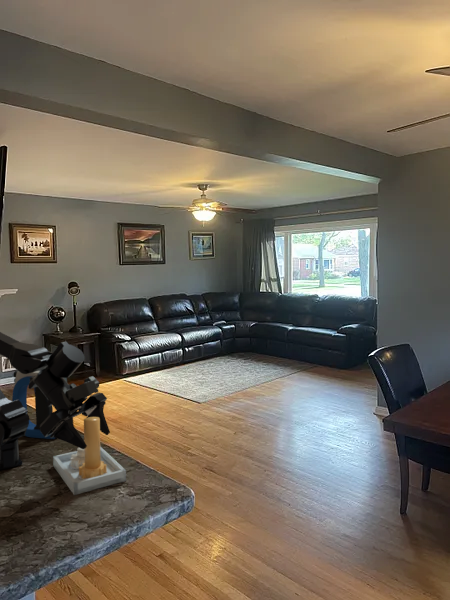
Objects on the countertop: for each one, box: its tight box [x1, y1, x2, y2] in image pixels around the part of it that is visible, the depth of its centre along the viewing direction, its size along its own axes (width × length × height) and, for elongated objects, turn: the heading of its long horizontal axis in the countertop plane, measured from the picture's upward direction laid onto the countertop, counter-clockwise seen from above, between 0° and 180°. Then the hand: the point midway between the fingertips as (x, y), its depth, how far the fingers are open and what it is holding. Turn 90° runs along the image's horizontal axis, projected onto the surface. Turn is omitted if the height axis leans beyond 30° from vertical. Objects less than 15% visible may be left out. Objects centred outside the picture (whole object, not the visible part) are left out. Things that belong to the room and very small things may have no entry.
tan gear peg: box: [79, 417, 107, 479], centre depth 108 cm, size 6×6×13 cm
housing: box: [52, 445, 127, 496], centre depth 111 cm, size 18×12×5 cm, turn 34°
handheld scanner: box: [11, 370, 68, 440], centre depth 136 cm, size 5×16×20 cm, turn 79°
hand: (97, 440), depth 107 cm, fingers open, 9 cm apart
